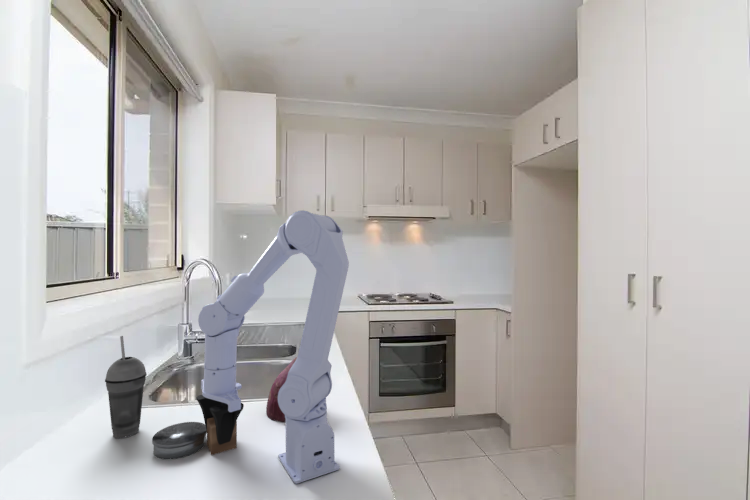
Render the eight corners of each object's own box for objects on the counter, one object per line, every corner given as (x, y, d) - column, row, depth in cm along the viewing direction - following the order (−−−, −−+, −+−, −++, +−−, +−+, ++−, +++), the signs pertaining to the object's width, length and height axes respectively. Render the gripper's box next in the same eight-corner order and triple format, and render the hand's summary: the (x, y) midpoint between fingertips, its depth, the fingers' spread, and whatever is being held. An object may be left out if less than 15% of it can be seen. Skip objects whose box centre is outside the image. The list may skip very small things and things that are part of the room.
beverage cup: (125, 443, 73) (126, 340, 73) (95, 439, 74) (95, 339, 75) (154, 426, 80) (155, 333, 80) (126, 423, 82) (126, 331, 82)
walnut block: (236, 448, 71) (236, 421, 71) (211, 455, 69) (211, 427, 69) (231, 438, 75) (231, 413, 75) (206, 444, 72) (207, 418, 72)
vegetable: (313, 418, 91) (329, 357, 93) (300, 432, 81) (319, 363, 83) (273, 405, 92) (290, 345, 94) (256, 418, 82) (275, 350, 84)
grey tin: (211, 452, 70) (211, 436, 70) (152, 468, 65) (153, 451, 65) (203, 432, 78) (203, 417, 78) (151, 444, 73) (151, 429, 73)
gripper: (257, 370, 69) (255, 444, 69) (226, 353, 79) (224, 417, 79) (219, 379, 64) (216, 458, 64) (190, 359, 74) (189, 427, 74)
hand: (218, 436), depth 71 cm, fingers open, 5 cm apart
